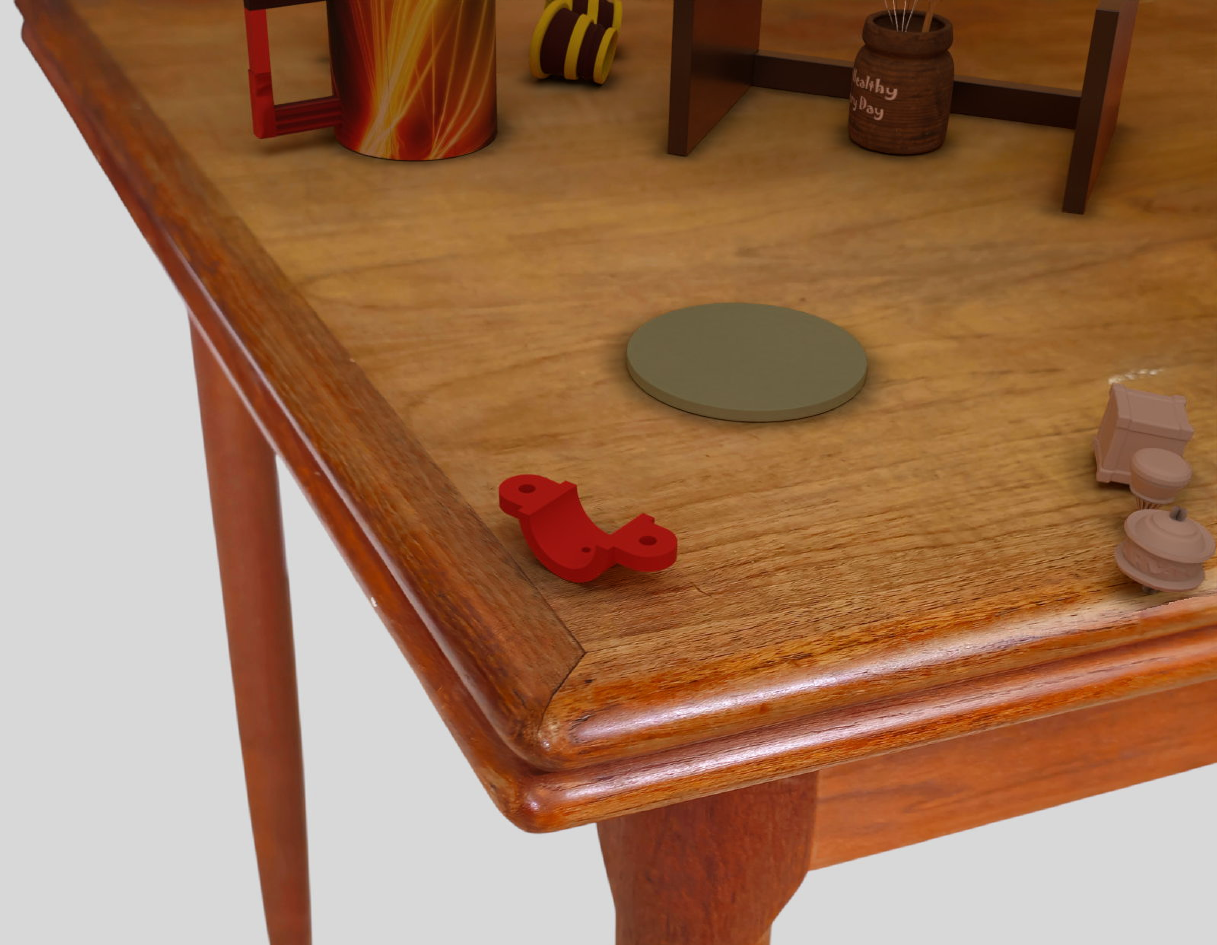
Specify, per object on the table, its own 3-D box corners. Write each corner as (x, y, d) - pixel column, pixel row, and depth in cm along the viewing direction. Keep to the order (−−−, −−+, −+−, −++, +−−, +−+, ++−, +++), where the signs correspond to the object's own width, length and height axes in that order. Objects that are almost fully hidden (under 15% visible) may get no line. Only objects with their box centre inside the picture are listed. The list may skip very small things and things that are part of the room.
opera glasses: (603, 104, 115) (620, 27, 112) (521, 85, 114) (537, 7, 112) (613, 57, 123) (630, -16, 120) (537, 38, 122) (552, -35, 120)
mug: (250, 156, 104) (230, -61, 97) (404, 94, 113) (396, -108, 106) (379, 194, 99) (368, -30, 92) (529, 126, 109) (528, -82, 102)
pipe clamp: (529, 465, 71) (530, 512, 72) (481, 494, 69) (483, 542, 70) (694, 534, 67) (692, 583, 68) (647, 567, 65) (646, 616, 66)
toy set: (1192, 390, 75) (1164, 466, 77) (1110, 374, 75) (1084, 451, 77) (1233, 542, 65) (1199, 625, 67) (1138, 523, 65) (1108, 606, 67)
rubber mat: (909, 401, 80) (910, 389, 80) (680, 438, 77) (680, 425, 77) (802, 301, 89) (804, 289, 89) (592, 331, 86) (592, 319, 85)
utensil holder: (915, 118, 111) (939, -85, 105) (966, 152, 107) (995, -58, 100) (829, 127, 110) (847, -79, 103) (876, 163, 105) (900, -51, 98)
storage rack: (739, 77, 117) (750, -101, 111) (1115, 127, 111) (1149, -58, 105) (667, 153, 105) (675, -41, 99) (1083, 214, 99) (1119, 11, 93)
